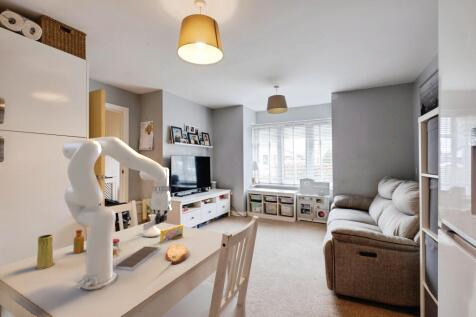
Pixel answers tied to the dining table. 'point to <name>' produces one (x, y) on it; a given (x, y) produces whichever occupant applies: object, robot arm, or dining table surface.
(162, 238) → the candy box
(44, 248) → the vase
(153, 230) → the flower in vase
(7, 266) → the dining table surface
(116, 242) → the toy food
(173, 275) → the dining table surface
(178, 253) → the slice of bread
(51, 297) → the dining table surface
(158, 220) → the knife
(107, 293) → the dining table surface
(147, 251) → the board
